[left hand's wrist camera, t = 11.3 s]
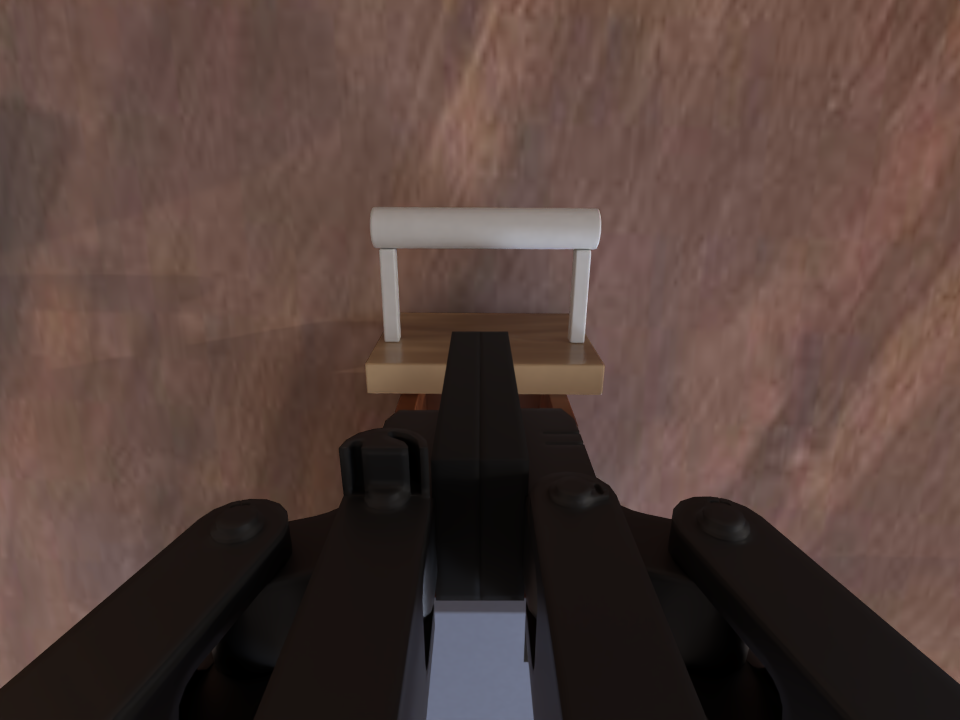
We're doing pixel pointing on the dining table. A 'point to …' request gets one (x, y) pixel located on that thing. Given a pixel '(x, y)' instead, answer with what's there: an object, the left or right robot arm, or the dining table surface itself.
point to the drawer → (533, 337)
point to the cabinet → (479, 662)
